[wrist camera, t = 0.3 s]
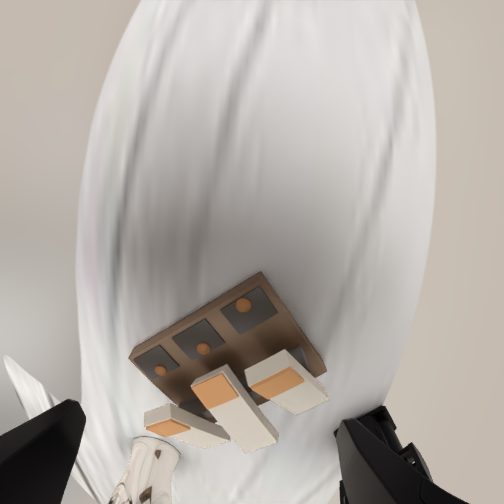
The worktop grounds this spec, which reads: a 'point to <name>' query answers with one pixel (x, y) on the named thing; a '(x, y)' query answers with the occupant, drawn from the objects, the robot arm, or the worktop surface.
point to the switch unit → (224, 343)
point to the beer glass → (147, 474)
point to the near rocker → (286, 383)
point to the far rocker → (184, 426)
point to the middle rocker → (234, 409)
